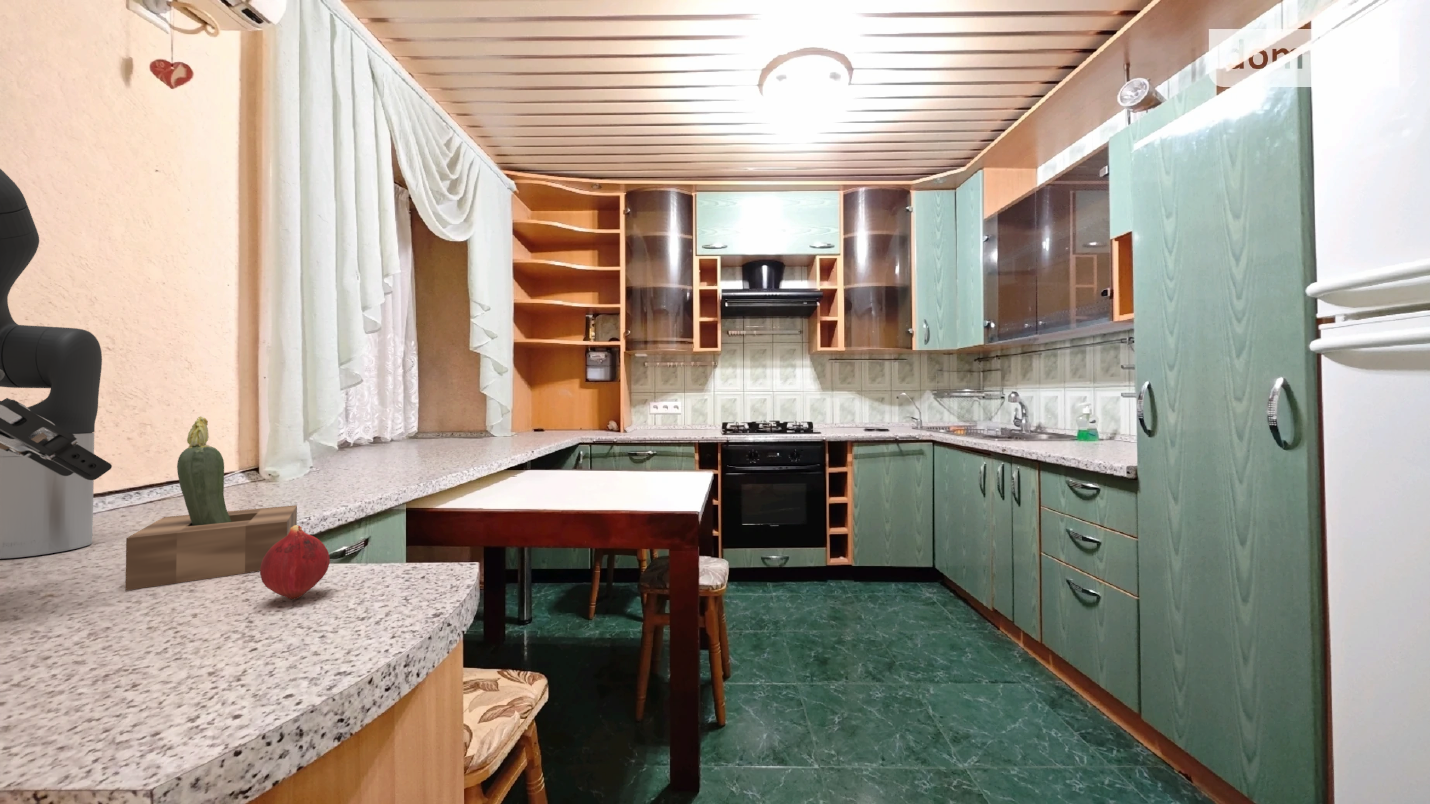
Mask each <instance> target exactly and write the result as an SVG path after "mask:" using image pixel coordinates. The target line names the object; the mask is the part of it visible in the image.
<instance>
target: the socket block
mask: <svg viewBox="0 0 1430 804" xmlns="http://www.w3.org/2000/svg"><path fill="white" fill-rule="evenodd" d="M227 512H228V514H229V517H230V519H231V521H232V522H228V523H217V524H207V525H197V526H192V522H191V519H190V516H189V514H184V515H183V514H182V515H171V516H163V517H162V518H160V519H158V520H156V521H154V522H152V523H151V524H149V525H148V526H145V527H144V528H141V529H140V530H138V531H137V532H135V533H133V534H131V535H130V536H129V535H128V537H126V541H125V542H126V543H125V586H124V590H125V591H132V590H138V589H146V588H151V587H158V586H165V585H173V584H180V583H185V582H192V581H193V582H194V581H200V580H201V581H202V580H207V579H214V578H222V577H228V576H234V575H241V574H248V573H249V574H250V573H255V572H260V569H261V563H262V560H263V558H264V556H265V555H266V553H267V552H268V551H269V549H270V548H271V547H272V546H273V545H274V544H276V543H277V542H278V541H280V540H281V539H283V538H285V537H286V536H287V535H288V534H289V532H290V528H291V527H293V526H294V525H298V524H297V523H298V520H297V519H298V518H297V517H298V505H297V504H293V505H284V506H272V507H262V508H261V507H260V508H251V509H249V508H248V509H241V510H240V509H239V510H227Z"/></svg>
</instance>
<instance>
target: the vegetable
mask: <svg viewBox="0 0 1430 804" xmlns="http://www.w3.org/2000/svg"><path fill="white" fill-rule="evenodd" d="M209 439H210V438H209V428H208V419H207V418H205V417H203V416H198V418H196V420H195V421H194V423H193V425H191V428H190V430H189V431H188V434H187V439H186V440H187V442H186V443H187V444H188V445H189V446H188V447H187V448H185V449H183V451H182V452H181V453H180V455H179V456H178V458H177V459H178V460H177V464H176V471H177V477H178V483H179V488H180V489H181V493H182V496H183V499H184V503H185V507H186V509H187V513H188V515H189V516H190V519H191V522H192V526H197V525H207V524H217V523H228V522H232V521H231V519H230V517H229V514H228V512H227V511H228V510H227V506H226V503H225V496H224V495H225V494H224V493H225V492H224V490H225V484H224V483H225V460H224V458H223V455H222V453H221V451H219V450H218V449H217V448H215V447H214V446H210V445H209V444H207V442H208V441H209Z"/></svg>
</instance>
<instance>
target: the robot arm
mask: <svg viewBox="0 0 1430 804" xmlns="http://www.w3.org/2000/svg"><path fill="white" fill-rule="evenodd" d="M38 232H39V231H38V229H37V226H36V224H35V221H34V218H33V216H32V213H31V211H30V208H29V206H28V202H27V201H26V198H25V196H24V194H23V192H22V190H21V189H20V188H19V186H18V185H17V184H16V183H15V182H14V181H13V179H12V178H10V177H9V176H8V174H7V173H6V172H5V171H3V170H2V168H0V388H9V389H11V388H12V389H50V390H49V391H50V392H49V394H48V395H47V397H46V398H45V399H44V400H42V401H39V402H37V403H35V404H33V405H30V406H27V405H25V404H23V403H21V402H20V401H17V400H15V399H11V398H9V397H6V398H4V399H3V400H0V559H1V560H2V559H16V558H25V557H35V556H41V555H49V554H53V553H60V552H66V551H70V550H75V549H79V548H84V547H87V546H89V545H91V544H93V525H94V523H93V522H94V521H93V520H94V481H95V480H98V479H99V478H100V477H102V476H103V475H104V474H106V473H108V472H109V471H110V470H111V469H112V467H113V465H112V464H111V463H110V462H108V461H106V460H105V459H103V458H101V457H100V456H98V455H96V454H95V430H96V429H95V428H96V426H95V425H96V424H95V423H96V419H97V416H98V415H97V414H98V410H99V396H100V395H99V394H100V383H101V377H102V376H101V375H102V365H103V356H102V355H103V353H102V347H101V345H100V342H99V340H98V339H97V337H96V336H95V335H94V334H93V333H92V332H91V331H89V330H86V329H83V328H75V327H62V326H60V327H59V326H44V325H25V324H24V325H23V324H18V323H17V322H15V321H14V319H13V317H12V314H11V312H10V309H9V302H8V297H9V293H10V291H11V289H12V288H13V286H14V284H15V283H16V281H17V279H18V278H19V277H20V276H21V275H22V273H23V272H24V271H25V269H26V268H27V267H28V265H29V264H30V263H31V262H32V260H33V258H34V257H35V255H36V253H37V251H38V248H39V244H40V237H39V236H40V235H39V233H38Z"/></svg>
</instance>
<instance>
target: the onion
mask: <svg viewBox="0 0 1430 804" xmlns="http://www.w3.org/2000/svg"><path fill="white" fill-rule="evenodd" d="M330 564H331V562H330V554H329V550H328V549H327V546H325V544H324V543H323V542H322V541H321V540H320V539H318V537H315V536H314V535H311V534H308V533H306V532H305V531H304V530H303V527H302V526H300V525H298V524H297V525H294V526H293V527H291V528H290V532H289V534H288V535H287V536H286V537H285V538H283V539H281V540H280V541H278V542H277V543H276V544H274V545H273V546H272V547H271V548H270V549H269V551H268V552H267V553H266V555H265V556H264V558H263V560H262V563H261V569H260V571H259V574H260V575H259V576H260V580H261V582H262V583H263V584H264V585H265V587H266V588H267V589H269V591H272V592H273V593H275V594H276V595H279V596H282V597H285V598H287V599H288V600H297V599H299V598H301V597H302V596H304V595H305V594H306V593H307V592H309V591H310V590H311V589H313V588H314V587H315V586H316V585H317V584H318V583H319V582H320V581H321V580H322V579H323V578H324V576H325V575H326V574H327V572H328V570H329V567H330Z"/></svg>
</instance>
